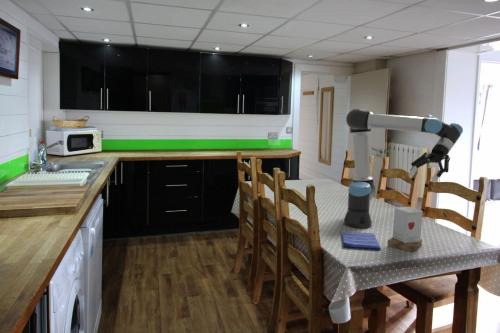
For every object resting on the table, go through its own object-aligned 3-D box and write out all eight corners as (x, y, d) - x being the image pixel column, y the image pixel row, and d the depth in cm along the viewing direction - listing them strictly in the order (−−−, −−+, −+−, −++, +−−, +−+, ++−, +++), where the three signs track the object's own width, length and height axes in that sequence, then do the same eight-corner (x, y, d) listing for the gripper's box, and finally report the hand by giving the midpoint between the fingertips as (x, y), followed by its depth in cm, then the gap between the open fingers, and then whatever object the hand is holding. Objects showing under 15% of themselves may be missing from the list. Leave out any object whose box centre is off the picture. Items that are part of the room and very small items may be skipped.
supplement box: (405, 243, 177) (407, 212, 175) (391, 237, 186) (394, 207, 183) (420, 242, 180) (423, 210, 178) (407, 236, 189) (409, 206, 186)
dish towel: (342, 249, 179) (343, 243, 179) (340, 233, 202) (340, 228, 202) (381, 252, 176) (381, 246, 176) (374, 236, 199) (374, 230, 199)
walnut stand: (387, 246, 183) (388, 239, 182) (396, 239, 192) (396, 233, 192) (414, 252, 175) (414, 245, 175) (421, 245, 185) (421, 239, 184)
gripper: (468, 155, 192) (446, 187, 186) (424, 150, 213) (403, 179, 208) (462, 145, 188) (440, 177, 183) (418, 141, 210) (397, 170, 204)
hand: (420, 178), depth 195 cm, fingers open, 13 cm apart
